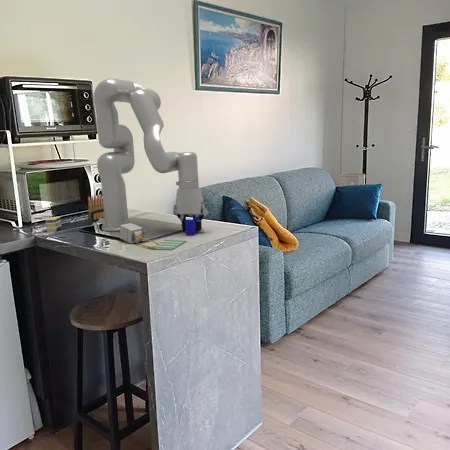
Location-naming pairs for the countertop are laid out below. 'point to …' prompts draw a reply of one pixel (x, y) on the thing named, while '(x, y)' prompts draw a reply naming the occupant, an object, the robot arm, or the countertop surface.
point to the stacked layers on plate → (52, 224)
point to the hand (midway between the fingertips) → (191, 230)
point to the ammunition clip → (95, 208)
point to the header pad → (167, 244)
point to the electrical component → (133, 234)
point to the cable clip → (191, 226)
